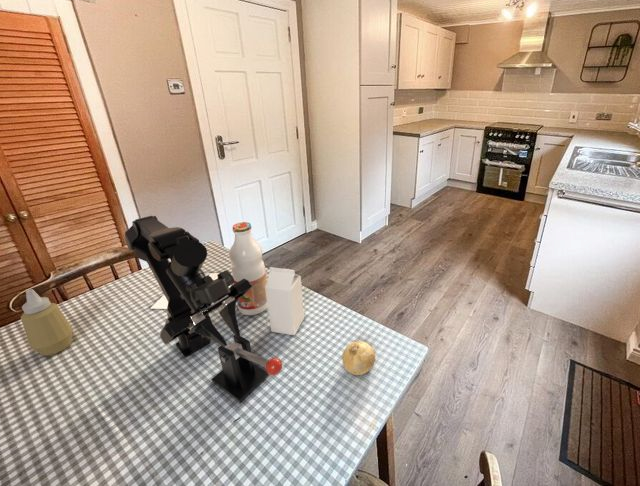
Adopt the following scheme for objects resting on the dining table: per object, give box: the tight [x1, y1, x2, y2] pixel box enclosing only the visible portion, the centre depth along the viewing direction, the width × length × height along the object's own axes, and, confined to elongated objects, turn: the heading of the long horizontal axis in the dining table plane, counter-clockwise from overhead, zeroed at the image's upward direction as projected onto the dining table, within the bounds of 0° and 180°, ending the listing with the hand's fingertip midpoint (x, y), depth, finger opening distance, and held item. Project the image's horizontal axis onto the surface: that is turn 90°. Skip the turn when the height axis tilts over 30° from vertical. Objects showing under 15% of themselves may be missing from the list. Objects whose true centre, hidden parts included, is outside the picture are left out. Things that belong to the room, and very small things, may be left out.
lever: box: [225, 341, 283, 376], centre depth 64 cm, size 16×3×3 cm, turn 59°
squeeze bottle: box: [20, 288, 74, 357], centre depth 76 cm, size 8×8×18 cm
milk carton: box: [265, 267, 305, 336], centre depth 84 cm, size 7×7×19 cm
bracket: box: [211, 334, 270, 404], centre depth 69 cm, size 10×8×11 cm
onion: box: [341, 340, 376, 376], centre depth 73 cm, size 8×8×7 cm
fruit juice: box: [228, 221, 268, 316], centre depth 90 cm, size 9×9×28 cm
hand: (232, 341), depth 64 cm, fingers open, 3 cm apart
